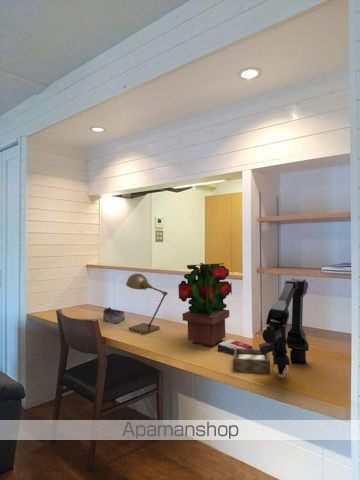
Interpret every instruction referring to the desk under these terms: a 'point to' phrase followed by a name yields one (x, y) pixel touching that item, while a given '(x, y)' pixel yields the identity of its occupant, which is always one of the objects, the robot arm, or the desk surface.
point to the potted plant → (206, 303)
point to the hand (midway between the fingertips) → (280, 372)
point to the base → (251, 360)
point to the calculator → (232, 346)
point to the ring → (280, 375)
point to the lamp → (141, 283)
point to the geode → (113, 315)
